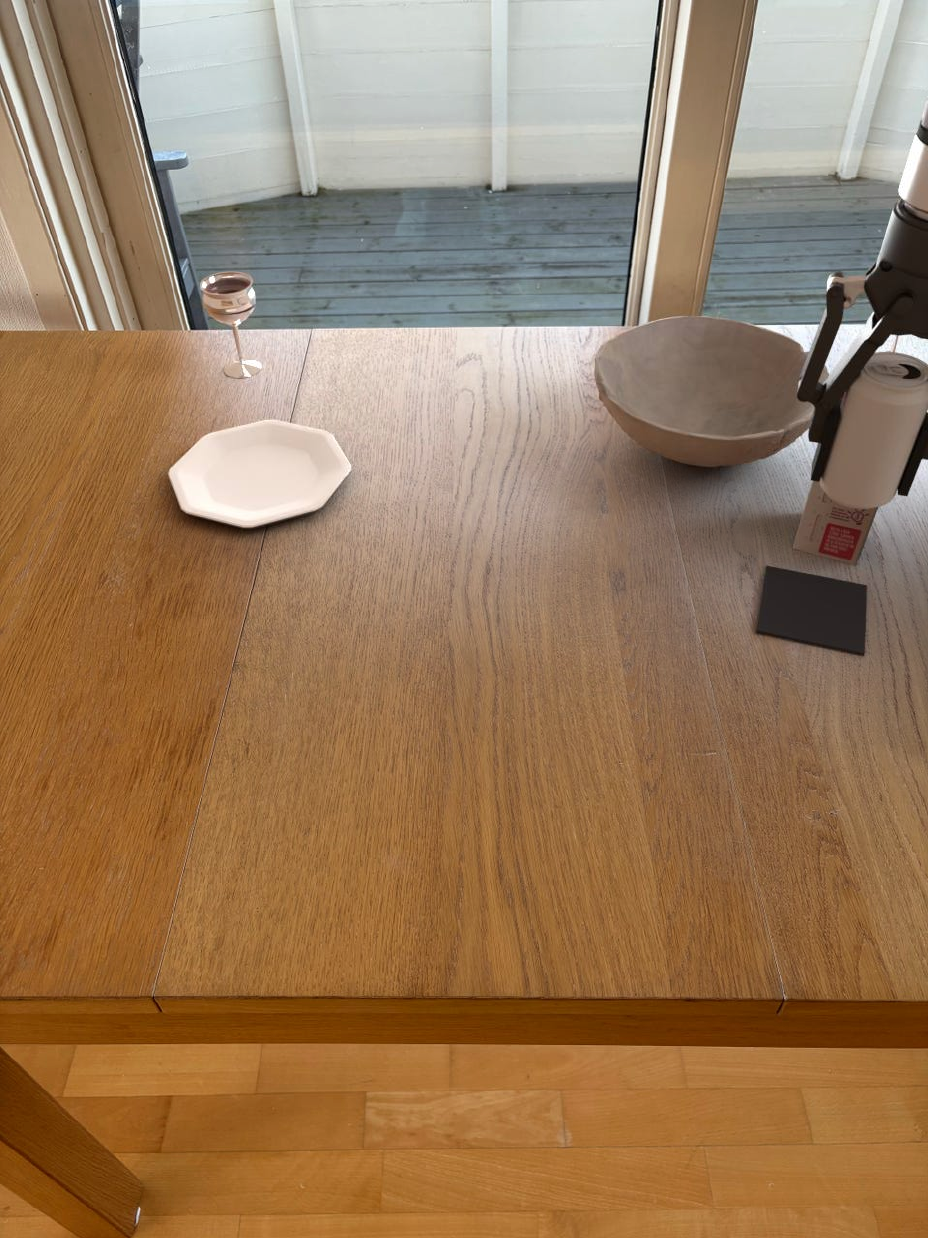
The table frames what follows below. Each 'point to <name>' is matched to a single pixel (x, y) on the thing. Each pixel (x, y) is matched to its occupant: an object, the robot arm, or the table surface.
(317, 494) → the plate
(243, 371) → the wineglass
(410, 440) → the table surface
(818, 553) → the juice carton
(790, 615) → the coaster
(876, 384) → the beverage can
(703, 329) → the bowl
